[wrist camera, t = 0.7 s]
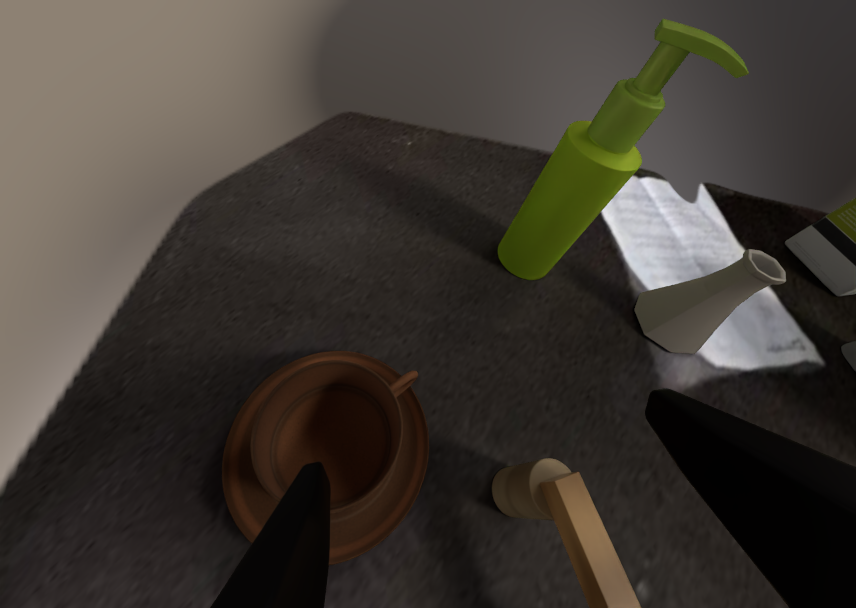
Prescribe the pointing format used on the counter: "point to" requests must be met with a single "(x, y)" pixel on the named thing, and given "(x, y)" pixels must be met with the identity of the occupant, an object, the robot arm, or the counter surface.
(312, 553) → the robot arm
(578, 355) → the counter surface
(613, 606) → the brown bracket-shaped piece
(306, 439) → the cup and saucer
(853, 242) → the tea box
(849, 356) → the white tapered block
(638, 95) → the soap dispenser
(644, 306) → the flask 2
